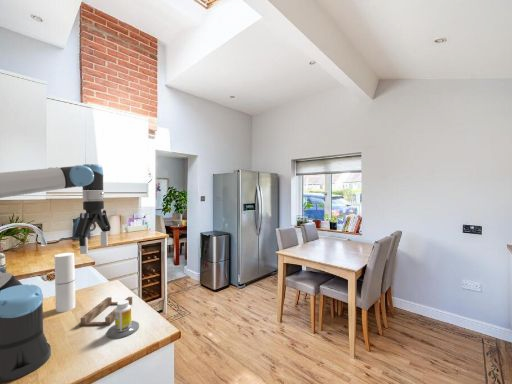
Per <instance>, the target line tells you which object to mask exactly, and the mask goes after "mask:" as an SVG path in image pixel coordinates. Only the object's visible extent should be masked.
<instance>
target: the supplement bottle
mask: <svg viewBox="0 0 512 384" xmlns="http://www.w3.org/2000/svg"><path fill="white" fill-rule="evenodd" d="M117 302H118V303H117V305H116V307H117V308H116V307H115V308H116V309H115V308H114V309H115V321H114V325H115V330H116V331H118V332H122V331H126V330H128V329H129V328H130V327H131V321H132V306H131V305H129V301H128V300H125V299H122V300H120V301H117Z"/></svg>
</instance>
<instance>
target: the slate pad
mask: <svg viewBox="0 0 512 384" xmlns="http://www.w3.org/2000/svg"><path fill="white" fill-rule="evenodd" d="M139 328H140V323H139V322H137V321H135V320H131V327H130V328H129V329H128V330H126V331H122V332H118V331H116V330H115V324H114V325H111V327H109V328H108V330H107V331H106V336H107V337H108V338H109V339H122V338H126V337H128V336H131V335H133V334H134V333H136V332H137V331H138V330H139Z"/></svg>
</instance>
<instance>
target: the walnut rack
mask: <svg viewBox="0 0 512 384" xmlns="http://www.w3.org/2000/svg"><path fill="white" fill-rule="evenodd" d="M124 300H128V301H129V305H130V306H131V305H133V296H128V297H126V299H124ZM118 302H119V301H112V297H111V296H109V297H106V298H105V299H104V300H102V301H100V303H98V304H96V306H94V307H93V308H92V309H91V310H89V311H88V312H87V313H85V314H84V315H83V316H81V317H80V318H79V319H80V327H92V326H94V327H96V326H97V327H98V326H100V327H101V326H112V324H113V323H115V309H116V308H117V303H118ZM110 306H116V307H115V308H114V309H113V310H112V311H111V312H110V313H109V314H107V315H106V316H105V318H104V319H105V321H93V320H94V319H95V318H96V317H98V316H99V315H100V314H101V313H102V312H104V311H105V310H106V309H108V307H110Z"/></svg>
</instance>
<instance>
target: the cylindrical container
mask: <svg viewBox="0 0 512 384" xmlns="http://www.w3.org/2000/svg"><path fill="white" fill-rule="evenodd" d="M75 273H76V271H75V253H74V252H63V253H62V252H61V253H58V254H54V284H55V286H54V287H55V289H54V291H55V293H54V294H55V312H56V313H65V312H68V311H71V310H73V309H75V307H76V281H75V280H76V278H75V277H76V275H75Z"/></svg>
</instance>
